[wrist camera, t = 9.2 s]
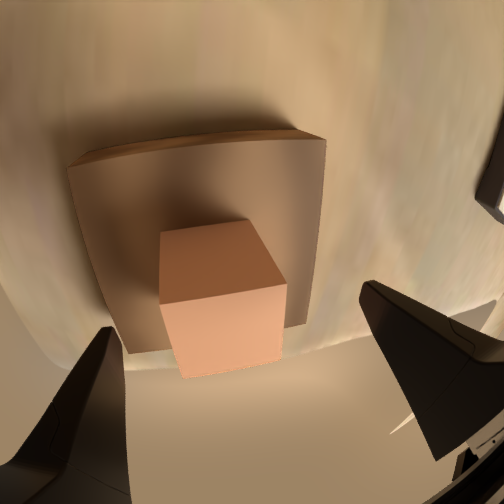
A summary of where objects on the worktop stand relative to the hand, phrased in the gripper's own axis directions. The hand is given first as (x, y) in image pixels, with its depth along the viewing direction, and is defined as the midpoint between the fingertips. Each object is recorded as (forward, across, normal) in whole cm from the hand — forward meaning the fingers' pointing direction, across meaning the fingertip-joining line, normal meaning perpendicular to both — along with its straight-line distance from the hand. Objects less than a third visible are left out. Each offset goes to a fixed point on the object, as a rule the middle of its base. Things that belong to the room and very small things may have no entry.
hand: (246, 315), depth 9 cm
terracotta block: (+8, 0, +3) cm, 8 cm away
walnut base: (+12, +1, +3) cm, 12 cm away
